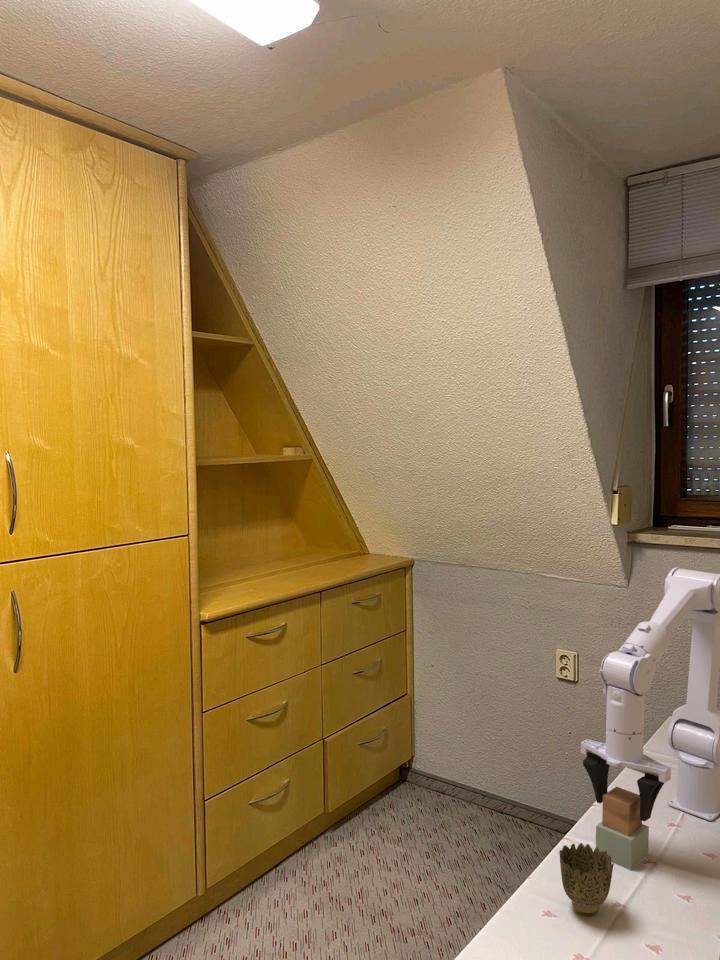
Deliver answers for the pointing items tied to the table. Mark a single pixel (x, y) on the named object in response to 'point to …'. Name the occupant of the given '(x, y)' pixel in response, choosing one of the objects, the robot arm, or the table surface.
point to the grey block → (623, 845)
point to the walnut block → (621, 811)
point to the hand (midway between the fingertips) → (623, 809)
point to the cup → (585, 877)
